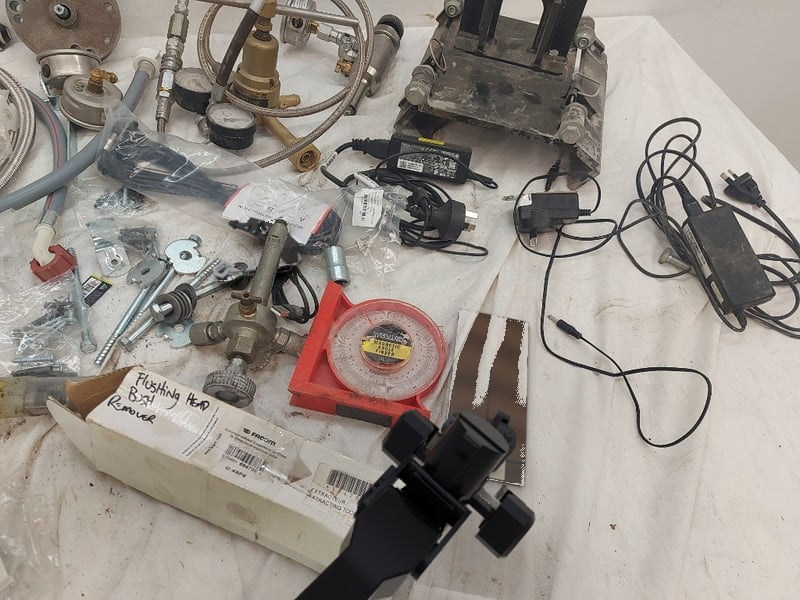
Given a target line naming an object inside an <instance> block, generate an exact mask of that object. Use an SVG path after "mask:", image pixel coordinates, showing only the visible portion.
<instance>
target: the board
mask: <svg viewBox="0 0 800 600" xmlns="http://www.w3.org/2000/svg"><path fill="white" fill-rule="evenodd" d="M478 312H479V314H478V316H477V317H476V319H475V321H474V323H473V326H472V328H471V330H470V332H469V334H468V337H467V340H466V342H465V344H464V347H463V349H462V351H461V353H460V356H459V360H458V363H457V370H456V374H455V375H456V377H455V380H454V385H453V389H452V394H451V400H450V407H449V413H448V418H449V416H450V415H451V414H453V413H454V412H456V411H458V412H459V413H460V412H461V411H469V412H472V413H474V414H476V415H478V416H479V417H481V418H483V419H484V420H486V419H494V417H495V416H496V414H497V413H498V412H499V411H503V412H504V414H506V415H508V416H509V417H510V421H509V423H508V426H509V427H510V428H512V429H513V430H514V431H515V433H516V447H515V449H514V450H513V452H512V453H511V455H509V456H508V457H507V458H506V460H505V461H504V463H503V464H502V465H501V466H500V467H499V468H498V469H497V470H496V471H495V472H491V473H490V477H489V478H488V479H494V480H498V481H503V482H509V483H519V484H522V483H521V482H522V481H521V480H522V479H523V478H522V477H521V476H522V475H523V474H522V471H523V470H524V469H525V470H526V465H527V461H526V459H527V458H526V457H527V425H528V424H527V423H528V422H527V421H528V402H527V403H526V404H527V405H526V404H525V403H524V404H525V406H526V407H525V406H524V404H523V403H522V404H523V405H522V404H521V403H520V404H521V405H520V404H519V402H520V400H521V399H520V400H519V397H520V396H519V397H518V395H519V393H518V394H517V392H518V390H519V389H518V388H517V387H518V383H519V382H518V381H519V379H518V375H519V369H518V361H519V356H520V354H521V350H520V346H521V345H522V341H521V339H522V338H523V336H522V332H523V328H524V325H523V322H524V321H525V322H526V321H527V320H522V319H516V318H511V317H507V320H506V323H507V324H506V328H505V329H506V331H505V336H504V341H502V343H501V346H500V348H499V350H498V351H497V355H495V356H496V358H495V359H494V362H493V363H492V364H493V367H491V370H490V377H489V378H490V380H489V385H488V386H489V387H488V390H487V393H488V394H487V393H486V392H485V393H486V395H485V397H486V398H485V397H484V398H483V397H482V398H483V401H484V402H483V401H482V402H483V403H482V402H481V404H480V405H481V406H480V405H479V404H478V405H479V406H478V405H476V404H477V403H476V404H475V405H476V406H475V405H474V404H472V402H473V401H474V399H475V398H476V396H475V393H476V390H475V389H476V386H477V385H476V384H477V383H476V380H477V378H478V372H479V371H478V367H479V363H480V359H481V355H482V353H483V347H484V344H485V341H486V339H487V333H488V327H489V323H490V319H491V315H492V314H491V313H486V312H481V311H478ZM510 320H511V321H510ZM519 320H520V322H519ZM517 321H518V322H517ZM525 322H524V324H525ZM521 323H522V324H521ZM522 326H523V327H522ZM524 330H525V329H524ZM523 334H524V332H523ZM522 340H523V339H522ZM520 344H521V345H520ZM521 347H522V346H521ZM517 380H518V381H517ZM517 389H518V390H517ZM516 390H517V391H516ZM516 395H517V396H516ZM474 396H475V397H474ZM517 397H518V399H517ZM480 398H481V396H480ZM518 400H519V402H518ZM522 400H523V398H522ZM516 401H517V402H518V403H517V402H516ZM515 402H516V403H515ZM523 402H524V401H523ZM473 405H474V406H473ZM477 406H478V407H477ZM523 406H524V407H523ZM474 407H475V408H474ZM473 408H474V409H473ZM523 444H524V445H523ZM525 444H526V445H525ZM522 445H523V446H522ZM523 447H524V448H525V447H526V448H525V449H526V450H525V449H524V448H523ZM522 448H523V449H524V450H523V449H522ZM521 449H522V450H523V451H522V450H521ZM520 450H521V451H520ZM521 452H522V453H523V452H524V453H523V454H524V455H525V456H526V457H525V456H524V455H523V454H522V453H521ZM525 452H526V453H525ZM521 454H522V455H523V456H524V457H521V456H522V455H521ZM520 455H521V456H520ZM522 460H523V461H524V460H525V461H524V462H523V461H522ZM522 464H524V466H523V465H522ZM522 466H523V467H522ZM521 467H522V468H521ZM524 467H525V468H524ZM523 468H524V469H523ZM522 469H523V470H522ZM521 474H522V475H521ZM521 478H522V479H521Z"/></svg>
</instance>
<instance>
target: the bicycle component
mask: <svg viewBox="0 0 800 600" xmlns="http://www.w3.org/2000/svg"><path fill="white" fill-rule="evenodd" d="M278 218H283V217H281V216H280V217H278ZM262 220H263V219H260V218H256V217H252V216H250V217H249V218H248V220H247V221H246V222H240V220H238V219H235V220H233V219H231V220H229V222H228V226H230V227H231V228H232V229H233V230H239V231H240V230H241V231H243V232H247V233H249V234H251V235H253V236H255V237H257V239H259V241H260V242H261V241H262V242H265V241H266V239H267V234H268V233H269V230H270V227H271V226H272V225H273V224H272V223H269V221H268V222H265V221H262ZM274 220H275V219H274ZM271 221H273V220H271ZM260 227H261V229H260ZM261 230H262V231H261ZM287 232H288V234H287V239H286V242H285V244H284V248H283V252H282V251H281V255H280V256H281V259H280V264H279V267H283V266H286V265H293V266H298V263H299V262H300V261H301V260H302V255H301V254H300V253H299V251H298V248H299V247H300V243H299V242H298V241H297V240H296V239H295V238H294V237H292V235H291V233H290V232H289V231H287ZM258 264H259V263H257V264H256V263H255V264H249V265H247V266H248V268H247V269H246V270H245V272H253V271H257V270H256V267H257V265H258ZM235 265H236V264H234V263H231V262H229V261H227V260H224V259H221V260H220V261H219V262H218V264H217V265H214V266H212V276H213V282H216V283H218V282H217V281H219V280H223V281H224V280H227V277H228V276H232V275H231V274H234V273H236V272H239V271H243V270H238V269H236V268H234V266H235ZM283 268H284V267H283ZM251 276H255V275H254V273H252V274H250V275H249V276H248V277H251ZM239 279H240V278H238V279H237V280H239Z"/></svg>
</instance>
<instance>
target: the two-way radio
mask: <svg viewBox="0 0 800 600" xmlns="http://www.w3.org/2000/svg"><path fill="white" fill-rule="evenodd" d="M485 421H487V422H488V423H489V424H491V425H492V426H493V427H494V428H495V429H496V430H497V431H498V432H499V433H500V434H501V435H502V436H503V437H504V439H505V440H506V442H507V444H508V446H509V451H508V452H507V453H506V455H505V456H504V457H503V458H502V460H501V461H500V462H499V463H498V465H497V466H496V467H495V468H494V470H493V471H492V472H495V471H496V470H497V469H498V468H499V467H500V466H501V465H502V464H503V463H504V461H505V460H506V458H507V457H508V456H509V455H511V453H512V452H513V450H514V449H515V447H516V433H515V431H514V430H513V429H512V428H510V427H509V426H508V423H509V421H510V417H509V416H508V415H506V414H504V412H503V411H499V412H498V413H497V414H496V416H495V417H494V419H486V420H485Z"/></svg>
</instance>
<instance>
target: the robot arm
mask: <svg viewBox="0 0 800 600" xmlns="http://www.w3.org/2000/svg"><path fill="white" fill-rule="evenodd" d="M508 451H509V446H508V444H507V442H506V440H505V439H504V437H503V436H502V435H501V434H500V433H499V432H498V431H497V430H496V429H495V428H494V427H493V426H492V425H491V424H489V423H488V422H487V421H485V420H484V419H483V418H481V417H479V416H478V415H476V414H474V413H472V412H469V411H461V412H460V413H459V412H458V411H456V412H454V413H453V414H451V415H450V416H449V418H448V419H447V420H446V419H445V421H444V422H443V424H442V426H441V428H440V427H438V426H437V425H436V424H435V423H434V422H433V421H432V420H430V419H429V418H428V417H427V416H426V415H424V414H422V413H421V412H420V411H419V410H418V409H417V408H411V409H410V408H409V409H407V410H404V411H403V412H402V413H401V415H400V416H399V417H398V418H397V420H396V421H395V423H394V424H393V425H392V427H391V428H390V429H389V431H388V432H387V433H386V435H385V436H384V438H383V439H382V440H381V452H383V454H384V455H386V456H387V457H388V458H389V459H390V460H391V461H392V462H393V463H394V464H395V465H396V466H397V467H396V466H395V465H394V464H391V465H390V466H389V467H388V468H387V469H386V470H385V471H384V472H383V473H382V474H381V475H380V476H379V477H378V478H377V480H375V482H374V483H372V484H371V486H370V487H368V489H367V490H366V491H365V492H364V493H363V494H362V495H361V496H360V498H359V499H358V500H357V503H356V511H355V512H354V514H353V516H352V518H353V519H354V521H353V522H352V524H351V525H350V528H349V530H348V531H347V533H346V535H345V536H344V538H343V541H342V542H341V544H340V548H339V553H338V556H337V557H336V558H335V559H333V561H332V562H331V563H329V564H328V566H326V567H325V568H324V570H323V571H322V572H321V573H319V574H318V576H316V577H315V579H314V580H312V581H311V582H310V583H309V584H308V585H307V586H306V587H305V588H304V589H303V591H301V592H300V593H299V594H298V595H297V596H296V597H295V598H294V599H293V600H381V599H386V598H393V597H394V596H395V595H396V593H398V592H399V590H400V589H401V588H402V587H403V586H404V584H405V583H406V582H407V580H409V579H410V577H412V579H413V580H415V581H416V582H417V581H419V579H420V578H421V576H423V574H424V573H425V572H426V570H427V569H428V568H429V567H430V566H431V564H432V563H433V562H434V560H435V559H436V558H437V557H438V556H439V554H440V553H441V552H442V551H443V550H444V548H446V546H447V545H448V543H449V542H450V541H451V540H452V538H453V537H454V536H455V535H456V533H457V532H458V530H460V529H461V527H462V526H463V524H464V523H465V522H466V521H467V520H468V518H469V517H470V516H471V514H472V513H473V511H472V510H471V509H470V508H469V507H468V506H470V507H471V508H472V509H473V510H474V511H475V512H476V513H478V514H479V516H481V517H482V518H481V521H480V522H479V525H478V526H477V528H478V531H477V532H476V534H475V535H474V538H475V539H476V540H477V541H478V542H480V543H481V545H482V546H484V547H485V548H486V549H487V550H488V551H489V552H490V553H491V554H492V555H493V556H495V558H497V559H506V558H508V556H509V555H510V554H511V553H512V551H513V550H514V549H515V548H516V547H517V546H518V544H520V542H521V540H523V538H524V537H525V536H526V535H527V534H528V533H529V531H530V530H531V528H532V527H533V526H534V524H535V523H536V522H535V521H536V512H534V510H533V509H531V508H530V507H529V506H528V505H527V503H526V502H524V501H523V500H522V499H521V498H520V497H519V496H517V495H516V494H515V493H514V492H513V491H512V490H510V488H507V487H508V486H507V484H505V483H502V486H501V487H500V488H499V489H498V490H497V492H496V493H495V494H494V495H492V494H491V493H490V492H489V490H487V489H486V488H485V485H486V484H487V483H488V482H489V480H487V479H488V478H489V477H490V473H491V472H492V471H493V470H494V468H495V467H496V466H497V465H498V463H499V462H500V461H501V460H502V458H503V457H504V456H505V455H506V453H507V452H508ZM398 480H400V481H401V483H403V484H404V485H403V486H402V487H401V488H400V487H398V486H394V485H395V483H397V482H398ZM449 527H450V529H449V530H448V531H447V533H446V534H445V535H444V536H443V534H444V533H445V531H446V530H447V529H448V528H449ZM441 538H442V539H441ZM440 539H441V540H440ZM439 540H440V541H439Z"/></svg>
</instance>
